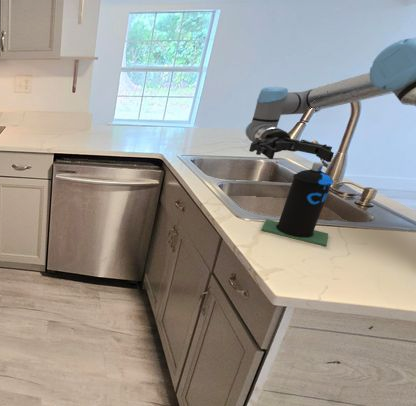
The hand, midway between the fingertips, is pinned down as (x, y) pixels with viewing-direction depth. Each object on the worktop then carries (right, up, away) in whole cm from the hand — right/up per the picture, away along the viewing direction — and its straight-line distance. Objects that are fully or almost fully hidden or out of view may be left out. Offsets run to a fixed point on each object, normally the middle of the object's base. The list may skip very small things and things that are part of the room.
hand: (301, 156), depth 104 cm
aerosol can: (-3, -22, -1) cm, 22 cm away
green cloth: (-3, -22, -1) cm, 22 cm away
